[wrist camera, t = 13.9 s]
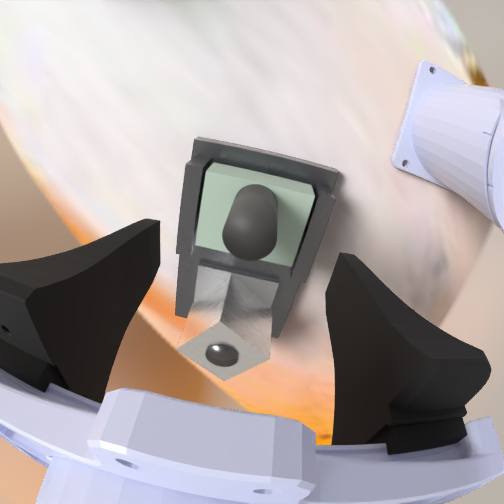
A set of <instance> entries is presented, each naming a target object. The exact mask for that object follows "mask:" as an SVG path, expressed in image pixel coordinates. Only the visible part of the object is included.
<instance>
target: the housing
mask: <svg viewBox="0 0 504 504" xmlns="http://www.w3.org/2000/svg"><path fill="white" fill-rule="evenodd" d="M271 330H272V308H270V307H269V306H268V305H267V304H266V303H265V302H263V301H262V300H261V299H260V298H259V297H258V296H257V295H255V294H254V293H253V292H252V291H251V290H250V289H249V288H247V287H246V286H245V285H244V284H243V283H242V282H241V281H240V280H238V279H237V278H236V277H235V276H234V275H233V274H232V273H231V274H230V275H228V276H227V277H226V278H224V279H223V280H222V281H220V282H219V283H218V284H217V285H215V286H214V287H213V288H211V289H210V290H209V291H207V292H206V293H205V294H203V295H202V296H201V297H199V298H198V299H197V300H195V301H194V302H193V303H192V306H191V309H190V311H189V314H188V317H187V320H186V323H185V325H184V328H183V331H182V334H181V337H180V340H179V342H178V345H177V348H176V349H177V350H178V351H180V352H181V353H182V354H184V355H185V356H187V357H188V358H190V359H191V360H193V361H194V362H196V363H197V364H199V365H200V366H202V367H203V368H205V369H206V370H208V371H209V372H211V373H212V374H214V375H215V376H217V377H219V378H220V379H222V380H223V381H225V380H227V379H229V378H232V377H234V376H236V375H238V374H240V373H242V372H244V371H246V370H248V369H251V368H253V367H255V366H257V365H259V364H261V363H263V362H265V361H267V360H269V359H270V350H271Z"/></svg>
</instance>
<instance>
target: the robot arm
mask: <svg viewBox="0 0 504 504" xmlns="http://www.w3.org/2000/svg"><path fill="white" fill-rule="evenodd" d="M430 67H431V68H433V74H432V73H431V72H430ZM404 160H406V161H407V164H406V165H405V166H403V165H402V162H403V161H404ZM391 163H392V164H393V166H395V167H396V168H398V169H401V170H404V171H406V172H409V173H411V174H414V175H416V176H419V177H421V178H423V179H426V180H428V181H430V182H433V183H435V184H437V185H440V186H442V187H444V188H446V189H448V190H451V191H453V192H455V193H457V194H459V195H460V196H461V197H463V198H464V199H465V200H466V201H468V202H469V203H470V204H472V205H473V206H474V207H475V208H477V209H478V210H479V211H480V212H481V213H483V214H484V215H485V216H486V217H487V218H489V219H490V220H491V221H492V222H493V223H494V224H496V225H497V226H498V227H499V228H500V229H501V230H502V231H503V233H504V89H500V88H493V87H486V86H477V85H468V84H467V83H465V82H463V81H462V80H460V79H459V78H457V77H455V76H454V75H452V74H450V73H449V72H447V71H445V70H444V69H442V68H440V67H438V66H436V65H435V64H433V63H431V62H429V61H427V60H422V61H420V62H419V64H418V67H417V71H416V76H415V80H414V83H413V87H412V91H411V95H410V99H409V102H408V106H407V109H406V113H405V116H404V120H403V123H402V126H401V129H400V133H399V136H398V139H397V142H396V145H395V148H394V151H393V154H392V157H391ZM159 266H160V221H158V220H152V219H143V220H140V221H138V222H136V223H133V224H131V225H129V226H127V227H125V228H122V229H120V230H118V231H116V232H114V233H112V234H110V235H107V236H105V237H103V238H100V239H98V240H96V241H93V242H91V243H89V244H86V245H84V246H81V247H78V248H75V249H73V250H69V251H66V252H63V253H59V254H55V255H52V256H47V257H43V258H39V259H34V260H28V261H21V262H13V263H1V264H0V437H2V438H3V439H5V440H6V441H7V442H9V443H10V444H11V445H13V446H14V447H16V448H17V449H18V450H20V451H21V452H23V453H24V454H26V455H28V456H29V457H31V458H32V459H34V460H35V461H37V462H39V463H40V464H42V465H44V466H45V467H47V468H48V470H47V473H46V475H45V477H44V480H43V483H42V486H41V489H40V491H39V494H38V497H37V500H36V503H35V504H443V503H446V502H449V501H451V500H455V499H457V498H460V497H462V496H464V495H466V494H468V493H470V492H472V491H474V490H476V489H478V488H479V487H481V486H483V485H485V484H487V483H488V482H490V481H492V480H493V479H495V478H497V477H499V476H500V475H502V474H503V473H504V457H503V453H502V450H501V446H500V443H499V439H498V436H497V433H496V430H495V427H494V424H493V421H492V418H491V417H485V418H481V419H476V420H473V421H470V422H468V423H466V424H464V422H463V418H462V417H464V416H465V415H466V414H467V411H466V408H465V404H467V403H468V402H469V401H470V400H471V399H472V398H473V397H474V396H475V394H477V392H479V390H481V388H482V387H483V386H484V385H485V384H486V382H487V380H488V379H489V377H490V373H491V366H490V364H489V362H488V359H487V357H486V355H485V354H484V352H483V351H482V350H480V349H478V348H476V347H474V346H471V345H469V344H467V343H465V342H462V341H460V340H459V339H457V338H455V337H453V336H451V335H450V334H448V333H446V332H444V331H443V330H441V329H439V328H438V327H436V326H435V325H433V324H432V323H430V322H429V321H427V320H426V319H424V318H423V317H422V316H420V315H419V314H418V313H416V312H415V311H414V310H413V309H411V308H410V307H409V306H408V305H406V304H405V303H404V302H403V301H402V300H401V299H399V298H398V297H397V296H396V295H395V294H394V293H393V292H392V291H391V290H390V289H389V288H388V287H387V286H386V285H385V284H384V283H383V282H382V281H381V280H380V279H379V278H378V277H377V276H376V275H375V274H374V273H373V272H372V271H371V270H370V269H369V268H368V267H367V266H366V265H365V264H364V263H363V262H362V261H361V260H360V259H358V258H357V257H356V256H355V255H352V254H346V253H341V252H340V254H339V256H338V259H337V262H336V265H335V268H334V271H333V273H332V276H331V279H330V282H329V284H328V287H327V290H326V292H325V296H326V316H327V322H328V328H329V334H330V340H331V346H332V352H333V358H334V367H335V410H334V425H333V436H332V445H316V438H315V432H314V431H313V430H311V429H310V428H308V427H307V426H305V425H304V424H302V423H301V422H299V421H298V420H294V419H289V418H284V417H280V416H275V415H268V414H260V413H252V412H245V411H238V410H232V409H226V408H220V407H215V406H209V405H204V404H199V403H195V402H190V401H185V400H181V399H177V398H173V397H168V396H164V395H161V394H156V393H153V392H149V391H144V390H137V389H131V388H121V389H118V390H114V391H111V392H107V394H106V396H105V398H104V395H105V390H106V387H107V383H108V380H109V376H110V373H111V369H112V366H113V363H114V360H115V358H116V355H117V352H118V349H119V346H120V343H121V341H122V339H123V336H124V334H125V331H126V329H127V327H128V325H129V323H130V321H131V319H132V318H133V316H134V314H135V312H136V311H137V309H138V307H139V305H140V304H141V302H142V300H143V298H144V297H145V295H146V293H147V292H148V290H149V288H150V286H151V285H152V283H153V280H154V278H155V276H156V273H157V271H158V268H159ZM103 399H104V400H103Z"/></svg>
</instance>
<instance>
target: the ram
mask: <svg viewBox="0 0 504 504" xmlns="http://www.w3.org/2000/svg"><path fill="white" fill-rule="evenodd" d="M314 198H315V195H314V192H313V189H312V186H311V185H309V184H305V183H302V182H298V181H294V180H290V179H286V178H282V177H278V176H274V175H269V174H265V173H261V172H257V171H252V170H248V169H243V168H238V167H234V166H229V165H224V164H219V163H213V164H212V165H211V166H210V167H209V168H208V170H207V171H206V175H205V181H204V187H203V194H202V200H201V207H200V214H199V221H198V228H197V235H196V243H195V245H197V246H201V247H206V248H210V249H214V250H219V251H223V252H228V253H231V254H232V255H234V256H235V257H237V258H240V259H243V260H248V261H254V260H263V261H267V262H272V263H276V264H281V265H285V266H290V267H292V265H293V262H294V259H295V256H296V253H297V250H298V247H299V244H300V241H301V238H302V235H303V232H304V229H305V226H306V223H307V220H308V217H309V214H310V211H311V207H312V204H313V201H314Z"/></svg>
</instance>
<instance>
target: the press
mask: <svg viewBox="0 0 504 504" xmlns="http://www.w3.org/2000/svg"><path fill="white" fill-rule="evenodd" d="M213 163H219V164H224V165H229V166H234V167H238V168H243V169H248V170H252V171H257V172H261V173H265V174H269V175H274V176H278V177H282V178H286V179H290V180H294V181H298V182H302V183H305V184H309V185H311V186H312V189H313V192H314V195H315V198H314V201H313V204H312V207H311V211H310V214H309V217H308V220H307V223H306V226H305V229H304V232H303V235H302V238H301V241H300V244H299V247H298V250H297V253H296V256H295V259H294V262H293V265H292V267H290V266H285V265H281V264H276V263H272V262H267V261H263V260H254V261H248V260H243V259H240V258H237V257H235V256H234V255H232V254H231V253H228V252H223V251H219V250H214V249H210V248H206V247H201V246H197V245H195V243H196V235H197V228H198V221H199V214H200V207H201V200H202V194H203V187H204V181H205V175H206V171H207V170H208V168H209V167H210V166H211V165H212V164H213ZM337 176H338V171H337V170H336V169H334V168H331V167H328V166H324V165H321V164H317V163H314V162H310V161H306V160H302V159H299V158H295V157H291V156H287V155H283V154H279V153H275V152H271V151H266V150H262V149H258V148H253V147H248V146H244V145H239V144H234V143H229V142H224V141H219V140H214V139H208V138H202V137H197V138H195V139H194V144H193V150H192V157H191V160H190V161H189V162H188V163H187V164H186V167H185V174H184V182H183V190H182V198H181V206H180V215H179V225H178V235H177V246H176V254H180V255H179V266H178V279H177V292H176V308H175V315H176V316H180V317H184V318H187V317H188V314H189V311H190V309H191V306H192V303H193V302H194V301H195V300H197V299H198V298H199V297H201V296H202V295H203V294H205V293H206V292H207V291H209V290H210V289H211V288H213V287H214V286H215V285H217V284H218V283H219V282H220V281H222V280H223V279H224V278H226V277H227V276H228V275H230V274H231V273H232V274H233V275H234V276H235V277H236V278H237V279H238V280H240V281H241V282H242V283H243V284H244V285H245V286H246V287H247V288H249V289H250V290H251V291H252V292H253V293H254V294H255V295H257V296H258V297H259V298H260V299H261V300H262V301H263V302H265V303H266V304H267V305H268V306H269V307H270V308H272V330H271V337H275V338H278V337H279V334H280V332H281V329H282V327H283V324H284V322H285V320H286V317H287V315H288V312H289V310H290V307H291V305H292V302H293V299H294V297H295V294H296V292H297V289H298V287H299V284H300V282H305V281H306V279H307V276H308V274H309V271H310V269H311V266H312V263H313V261H314V258H315V255H316V253H317V250H318V247H319V245H320V242H321V239H322V237H323V234H324V231H325V228H326V226H327V223H328V220H329V217H330V214H331V211H332V209H333V206H334V203H335V200H336V198H335V196H334V194H333V189H334V186H335V183H336V179H337Z"/></svg>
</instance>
